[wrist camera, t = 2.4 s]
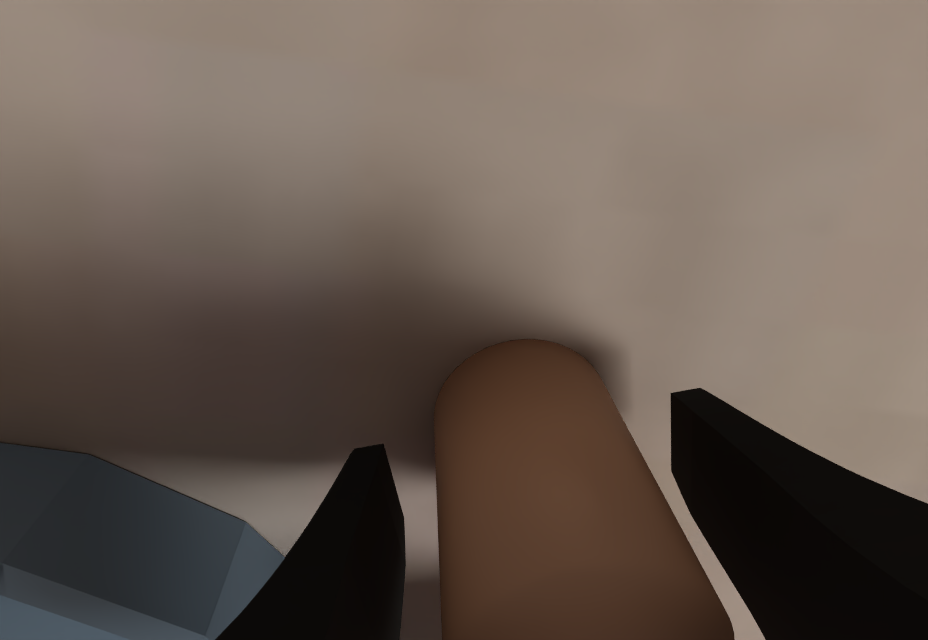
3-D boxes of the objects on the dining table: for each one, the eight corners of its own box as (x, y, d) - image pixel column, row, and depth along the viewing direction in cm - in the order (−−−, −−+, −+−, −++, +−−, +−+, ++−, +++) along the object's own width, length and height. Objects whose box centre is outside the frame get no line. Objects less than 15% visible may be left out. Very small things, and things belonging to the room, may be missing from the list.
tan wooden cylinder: (611, 469, 14) (729, 731, 9) (450, 497, 14) (468, 774, 9) (601, 324, 13) (741, 540, 7) (418, 356, 13) (417, 595, 7)
